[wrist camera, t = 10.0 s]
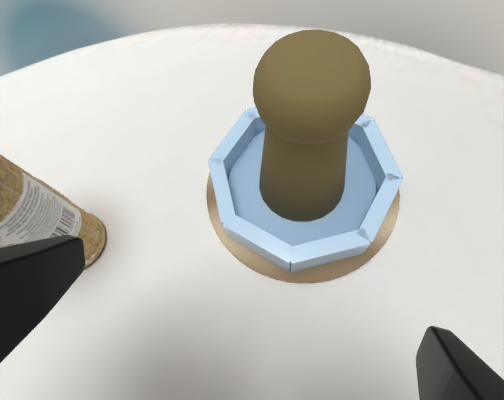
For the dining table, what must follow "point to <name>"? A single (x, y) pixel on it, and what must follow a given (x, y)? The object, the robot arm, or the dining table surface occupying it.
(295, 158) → the cork
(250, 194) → the bowl
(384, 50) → the dining table surface
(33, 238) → the sprinkles bottle
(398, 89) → the dining table surface
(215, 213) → the placemat
